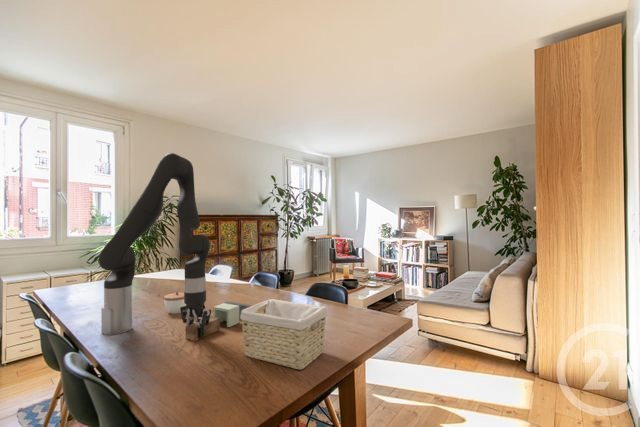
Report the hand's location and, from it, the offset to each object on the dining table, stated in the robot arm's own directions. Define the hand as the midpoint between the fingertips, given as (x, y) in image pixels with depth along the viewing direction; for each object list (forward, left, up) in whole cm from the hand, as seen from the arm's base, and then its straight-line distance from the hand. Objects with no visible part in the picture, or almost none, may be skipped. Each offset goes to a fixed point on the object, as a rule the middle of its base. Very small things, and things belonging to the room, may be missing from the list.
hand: (195, 335), depth 111 cm
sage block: (+15, 0, 0) cm, 15 cm away
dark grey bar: (+25, 0, -1) cm, 25 cm away
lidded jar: (+17, +33, -1) cm, 37 cm away
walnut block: (+3, 0, -1) cm, 3 cm away
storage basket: (+3, -37, -1) cm, 37 cm away
